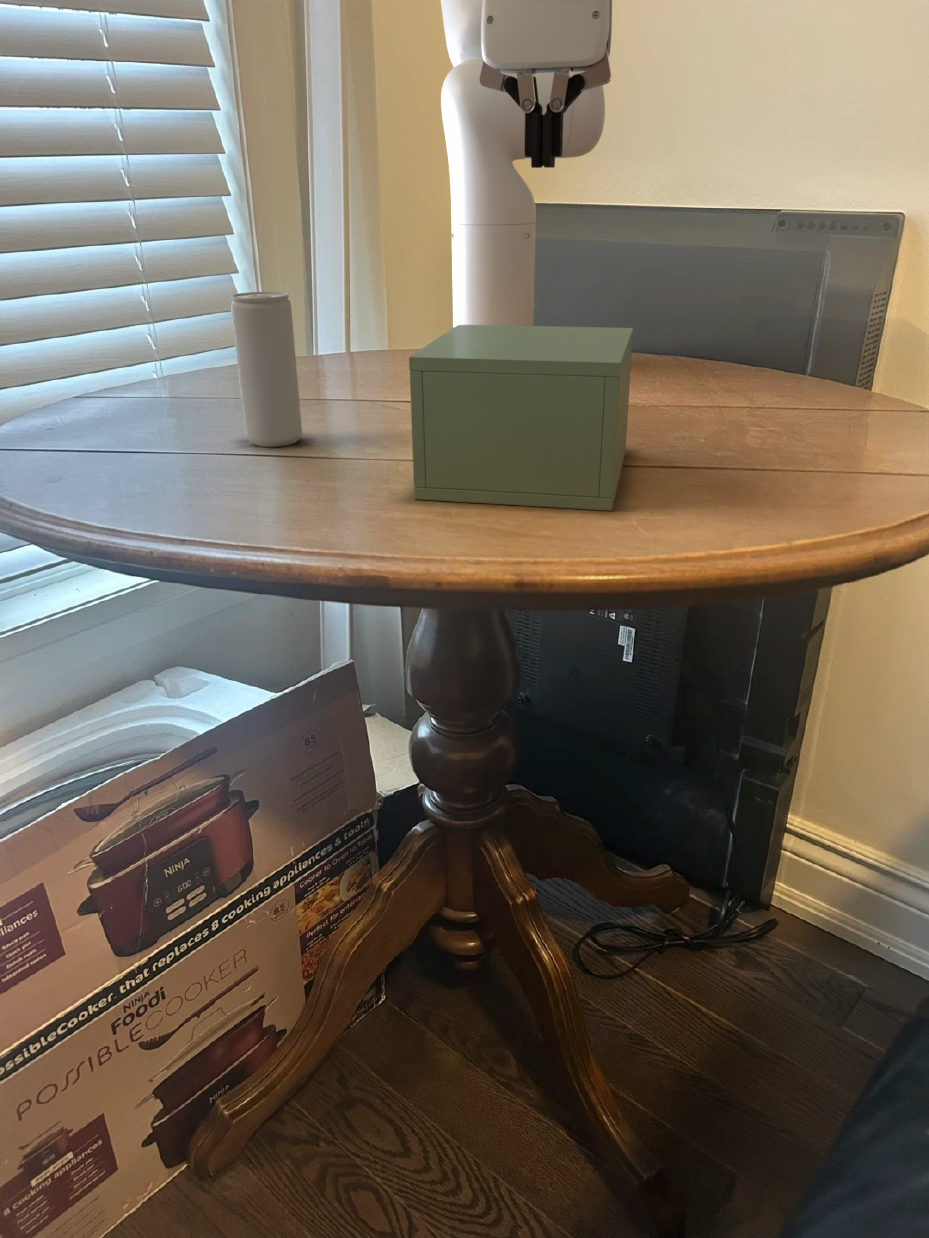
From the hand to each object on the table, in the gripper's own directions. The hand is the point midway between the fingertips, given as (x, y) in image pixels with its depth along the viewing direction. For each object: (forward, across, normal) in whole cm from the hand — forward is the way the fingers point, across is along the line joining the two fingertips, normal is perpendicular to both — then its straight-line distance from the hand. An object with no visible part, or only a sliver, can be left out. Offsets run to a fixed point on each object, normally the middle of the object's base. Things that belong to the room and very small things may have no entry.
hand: (543, 167), depth 78 cm
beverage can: (+21, +21, +13) cm, 33 cm away
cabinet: (+21, -2, +19) cm, 28 cm away
